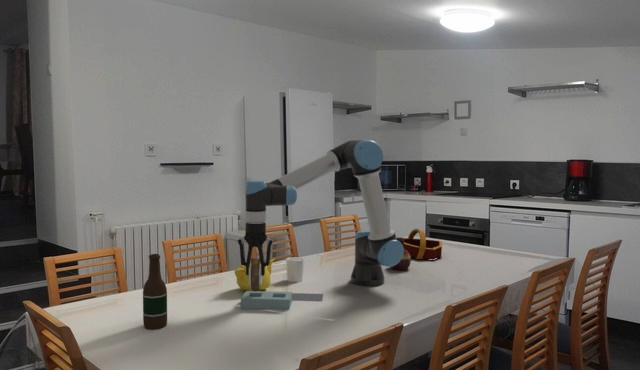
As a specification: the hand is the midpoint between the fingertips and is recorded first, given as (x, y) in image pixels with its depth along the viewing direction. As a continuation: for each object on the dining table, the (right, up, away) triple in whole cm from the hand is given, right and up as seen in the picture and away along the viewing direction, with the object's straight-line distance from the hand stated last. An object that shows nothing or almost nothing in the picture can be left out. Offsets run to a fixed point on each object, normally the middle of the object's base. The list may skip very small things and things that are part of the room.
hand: (255, 283), depth 192 cm
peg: (0, -2, 0) cm, 3 cm away
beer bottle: (-30, -10, -23) cm, 39 cm away
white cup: (+13, -6, +37) cm, 39 cm away
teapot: (-3, -7, +22) cm, 23 cm away
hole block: (+4, -8, 0) cm, 9 cm away
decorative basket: (+79, -3, +98) cm, 126 cm away
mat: (+18, -8, +11) cm, 23 cm away
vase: (+64, -5, +63) cm, 90 cm away
